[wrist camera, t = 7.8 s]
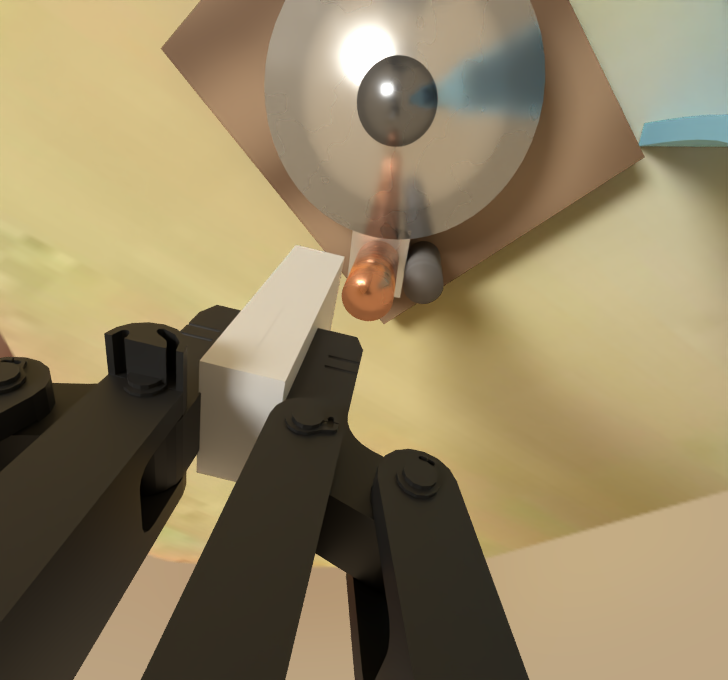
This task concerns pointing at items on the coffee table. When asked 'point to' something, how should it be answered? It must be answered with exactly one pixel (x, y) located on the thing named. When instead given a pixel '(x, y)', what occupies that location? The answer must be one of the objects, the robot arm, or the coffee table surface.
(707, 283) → the coffee table surface
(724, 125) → the blue tall hollow container
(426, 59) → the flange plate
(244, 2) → the base board
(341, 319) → the coffee table surface
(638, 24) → the coffee table surface
